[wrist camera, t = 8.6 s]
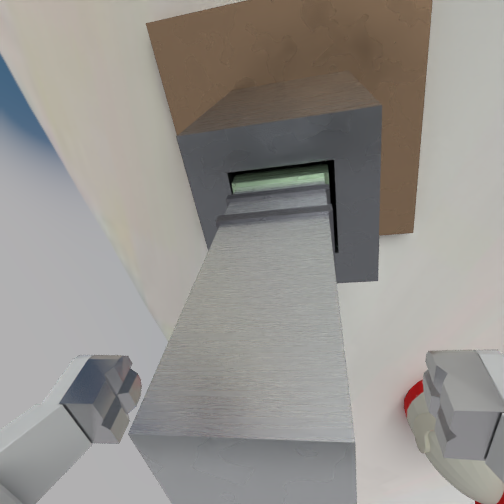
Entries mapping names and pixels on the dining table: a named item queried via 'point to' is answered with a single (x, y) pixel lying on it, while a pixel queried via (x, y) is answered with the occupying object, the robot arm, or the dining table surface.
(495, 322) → the dining table surface
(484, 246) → the dining table surface
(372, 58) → the post sleeve
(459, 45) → the dining table surface
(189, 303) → the steel post
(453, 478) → the kitchen timer
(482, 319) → the dining table surface
